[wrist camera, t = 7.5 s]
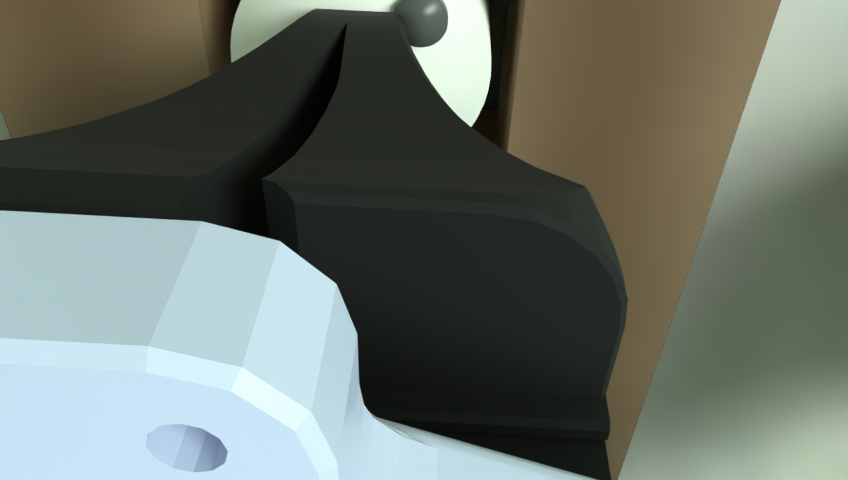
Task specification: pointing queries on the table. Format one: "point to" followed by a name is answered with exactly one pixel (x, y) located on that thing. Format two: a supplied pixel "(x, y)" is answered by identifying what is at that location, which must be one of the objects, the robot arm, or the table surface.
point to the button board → (507, 127)
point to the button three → (426, 31)
